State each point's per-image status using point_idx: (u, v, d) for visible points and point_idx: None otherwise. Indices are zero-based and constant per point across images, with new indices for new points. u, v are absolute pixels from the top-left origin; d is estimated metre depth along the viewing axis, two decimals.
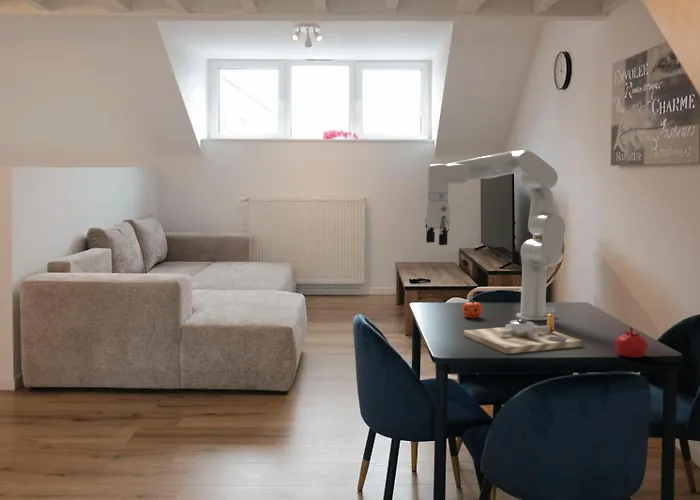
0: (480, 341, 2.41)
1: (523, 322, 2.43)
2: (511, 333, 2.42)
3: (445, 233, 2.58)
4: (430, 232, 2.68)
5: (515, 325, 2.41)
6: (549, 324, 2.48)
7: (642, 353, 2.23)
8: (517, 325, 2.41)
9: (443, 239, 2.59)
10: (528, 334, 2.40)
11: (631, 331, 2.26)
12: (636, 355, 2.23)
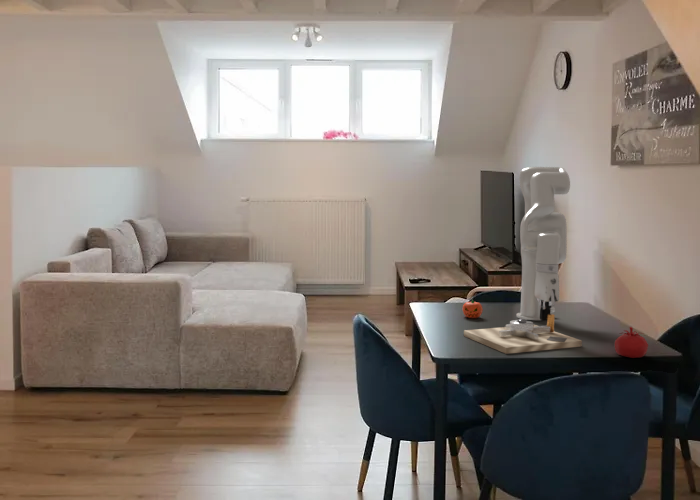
0: (480, 341, 2.41)
1: (523, 322, 2.43)
2: (511, 333, 2.42)
3: (548, 308, 2.49)
4: None
5: (515, 325, 2.41)
6: (549, 324, 2.48)
7: (642, 353, 2.23)
8: (517, 325, 2.41)
9: (546, 314, 2.50)
10: (528, 334, 2.40)
11: (631, 331, 2.26)
12: (636, 355, 2.23)
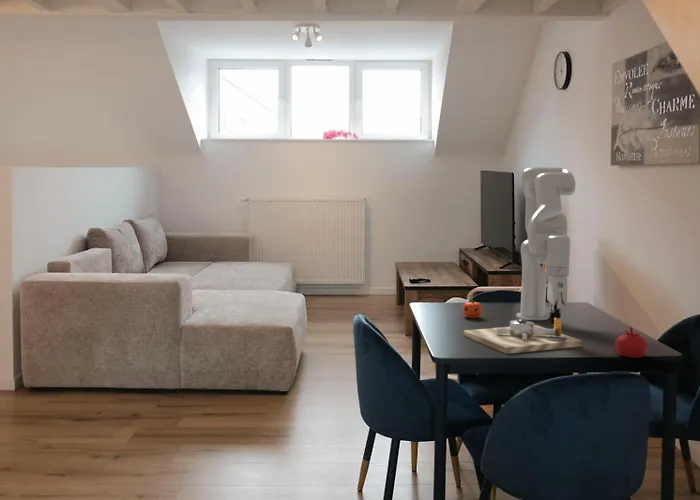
0: (480, 341, 2.41)
1: (521, 322, 2.43)
2: (508, 332, 2.44)
3: (557, 312, 2.44)
4: None
5: (511, 324, 2.43)
6: (555, 327, 2.42)
7: (642, 353, 2.23)
8: (512, 324, 2.42)
9: None
10: (521, 334, 2.40)
11: (631, 331, 2.26)
12: (636, 355, 2.23)
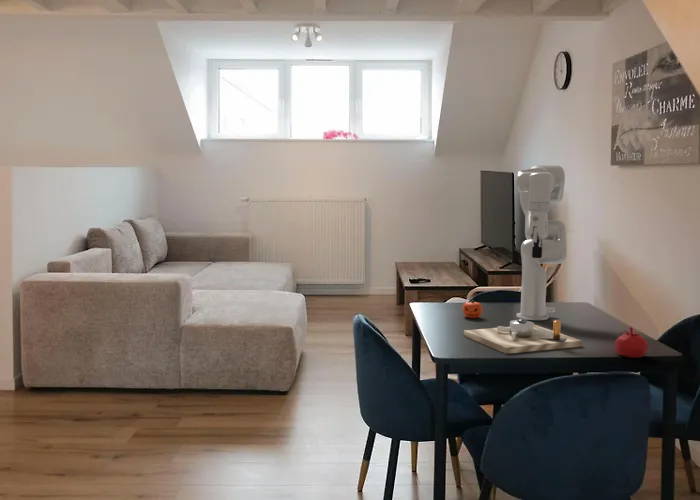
0: (480, 341, 2.41)
1: (519, 322, 2.43)
2: (508, 330, 2.46)
3: (536, 246, 2.56)
4: None
5: None
6: (553, 330, 2.38)
7: (642, 353, 2.23)
8: (510, 323, 2.44)
9: (535, 252, 2.57)
10: None
11: (631, 331, 2.26)
12: (636, 355, 2.23)
